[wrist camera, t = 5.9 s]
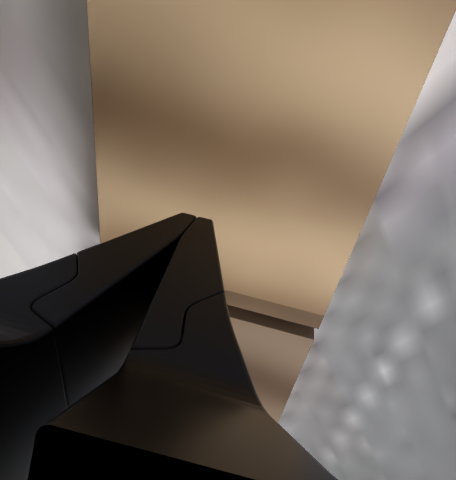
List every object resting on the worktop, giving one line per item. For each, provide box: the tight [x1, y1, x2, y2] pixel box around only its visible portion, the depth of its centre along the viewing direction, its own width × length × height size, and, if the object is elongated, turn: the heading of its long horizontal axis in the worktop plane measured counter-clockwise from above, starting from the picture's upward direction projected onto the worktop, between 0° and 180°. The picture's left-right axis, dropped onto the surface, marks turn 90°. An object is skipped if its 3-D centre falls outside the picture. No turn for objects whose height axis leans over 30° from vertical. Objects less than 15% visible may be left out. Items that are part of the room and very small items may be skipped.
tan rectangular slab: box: [87, 0, 456, 329], centre depth 13 cm, size 12×10×2 cm
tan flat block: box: [227, 305, 314, 423], centre depth 19 cm, size 9×10×2 cm
